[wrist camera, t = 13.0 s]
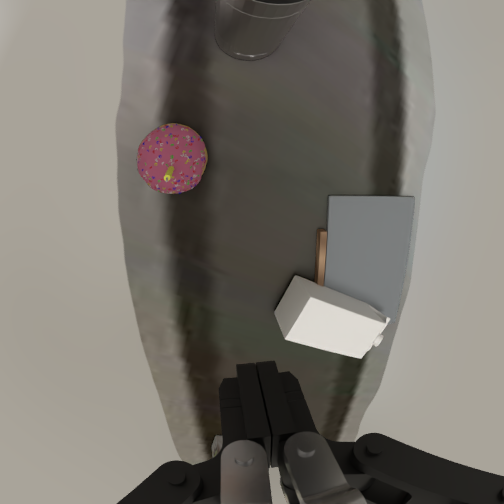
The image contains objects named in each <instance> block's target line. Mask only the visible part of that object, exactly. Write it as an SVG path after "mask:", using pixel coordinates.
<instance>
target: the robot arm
mask: <svg viewBox="0 0 504 504" xmlns="http://www.w3.org/2000/svg"><path fill="white" fill-rule="evenodd" d="M310 1H311V0H216V8H215V39H216V42H217V44H218V46H219V47H220V48H221V49H222V50H223V51H224V52H225V53H227V54H228V55H230V56H232V57H234V58H237V59H241V60H258V59H262V58H264V57H267V56H269V55H270V54H271V53H273V52H274V51H275V50H276V48H277V47H278V46H279V44H280V43H281V41H282V40H283V39H284V37H285V36H286V34H287V33H288V31H289V30H290V29H291V27H292V26H293V24H294V23H295V21H296V20H297V19H298V17H299V16H300V14H301V13H302V12H303V10H304V9H305V8H306V6H307V5H308V4H309V2H310ZM236 373H237V378H224V379H223V381H222V383H221V385H220V387H219V398H220V412H221V426H222V438H223V444H222V448H221V450H220V452H219V453H218V454H217V455H216V456H215V457H213V458H212V459H210V460H208V461H205V462H202V463H199V464H195V465H191V464H189V463H187V462H184V461H170V462H167V463H165V464H163V465H161V466H160V467H159V468H158V469H157V470H156V471H154V472H153V473H152V474H151V475H150V476H149V477H148V478H146V479H145V480H144V481H143V482H142V483H141V484H140V485H139V486H137V487H136V488H135V489H134V490H133V491H132V492H130V493H129V494H128V495H127V496H126V497H124V498H123V499H122V500H121V501H119V502H118V503H117V504H272V497H271V489H270V480H269V468H270V464H271V467H272V468H273V467H278V468H279V472H280V476H281V478H280V485H281V488H282V491H283V494H284V496H285V499H286V502H287V504H504V476H500V475H496V474H493V473H489V472H485V471H481V470H478V469H475V468H471V467H468V466H465V465H462V464H458V463H455V462H452V461H449V460H446V459H444V458H440V457H438V456H435V455H432V454H430V453H427V452H424V451H422V450H419V449H417V448H414V447H411V446H409V445H406V444H404V443H402V442H399V441H397V440H394V439H392V438H390V437H387V436H385V435H382V434H379V433H369V434H365V435H363V436H362V437H360V438H359V439H358V440H357V441H356V442H335V441H331V440H328V439H326V438H324V437H323V436H321V435H320V434H319V433H318V431H317V429H316V427H315V425H314V422H313V419H312V417H311V414H310V411H309V409H308V406H307V403H306V401H305V399H304V395H303V392H302V391H301V387H300V384H299V382H298V379H297V378H296V377H294V376H293V375H292V374H291V373H290V372H281V373H278V370H277V366H276V363H275V361H266V362H257V363H256V364H255V363H248V364H237V365H236Z"/></svg>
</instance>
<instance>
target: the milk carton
mask: <svg viewBox="0 0 504 504" xmlns="http://www.w3.org/2000/svg"><path fill="white" fill-rule="evenodd" d="M274 314H275V316H276V319H277V321H278V324H279V326H280V329H281V331H282V333H283V336H284V338H285V339H286V340H289V341H293V342H296V343H300V344H304V345H307V346H311V347H315V348H319V349H323V350H327V351H331V352H335V353H339V354H343V355H347V356H351V357H355V358H360V359H361V358H362V357H363V356H364V354H365V353H366V352H367V351H369V350H370V348H371V347H372V346H373V345H374V346H376V347H377V346H378V345H379V344H380V342H381V341H382V339H383V335H381V333H382V331H383V330H384V328H385V327H386V325H387V324H388V322H389V321H390V318H389V317H386V316H385V315H383V314H382V313H380V312H379V311H377V310H376V309H375V308H373V307H372V306H370V305H369V304H367V303H365V302H363V301H360V300H358V299H355V298H353V297H350V296H347V295H345V294H342V293H340V292H337V291H335V290H332V289H330V288H327V287H325V286H323V287H322V286H320V285H317V283H315V282H312V281H310V280H307V279H305V278H302V277H300V276H297V275H295V276H294V278H293V280H292V281H291V283H290V285H289V287H288V289H287V290H286V292H285V294H284V296H283V298H282V299H281V301H280V303H279V305H278V306H277V308H276V310H275V312H274Z"/></svg>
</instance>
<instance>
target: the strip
mask: <svg viewBox="0 0 504 504" xmlns="http://www.w3.org/2000/svg"><path fill="white" fill-rule="evenodd" d="M326 243H327V231H326V230H324V229H317V245H316V263H315V279H314V282H315V283H317V285H320V286H322V287H323V285H324V273H325V259H326Z"/></svg>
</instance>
